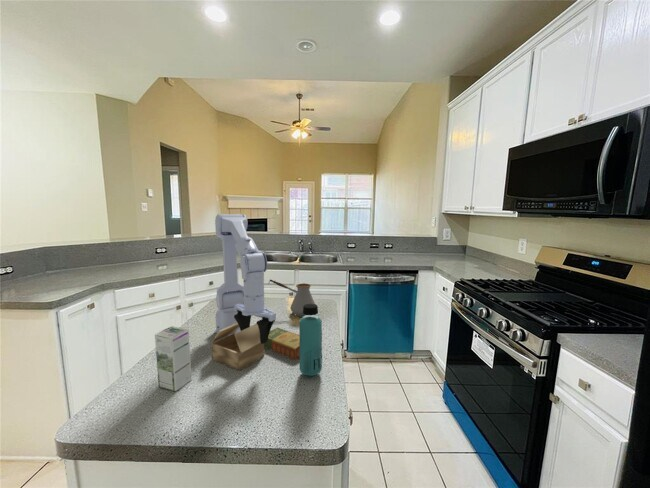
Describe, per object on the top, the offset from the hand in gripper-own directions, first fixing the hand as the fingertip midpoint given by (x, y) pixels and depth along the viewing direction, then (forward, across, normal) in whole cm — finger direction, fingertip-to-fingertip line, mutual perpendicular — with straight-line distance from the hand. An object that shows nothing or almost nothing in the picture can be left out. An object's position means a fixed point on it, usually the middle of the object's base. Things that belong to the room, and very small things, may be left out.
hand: (254, 339), depth 84 cm
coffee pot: (+8, -16, +40) cm, 43 cm away
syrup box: (+8, -11, -18) cm, 23 cm away
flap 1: (+1, -11, 0) cm, 11 cm away
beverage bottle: (+8, +17, +4) cm, 19 cm away
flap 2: (0, -2, 0) cm, 2 cm away
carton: (+8, +1, +13) cm, 15 cm away
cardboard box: (+8, -7, 0) cm, 10 cm away
